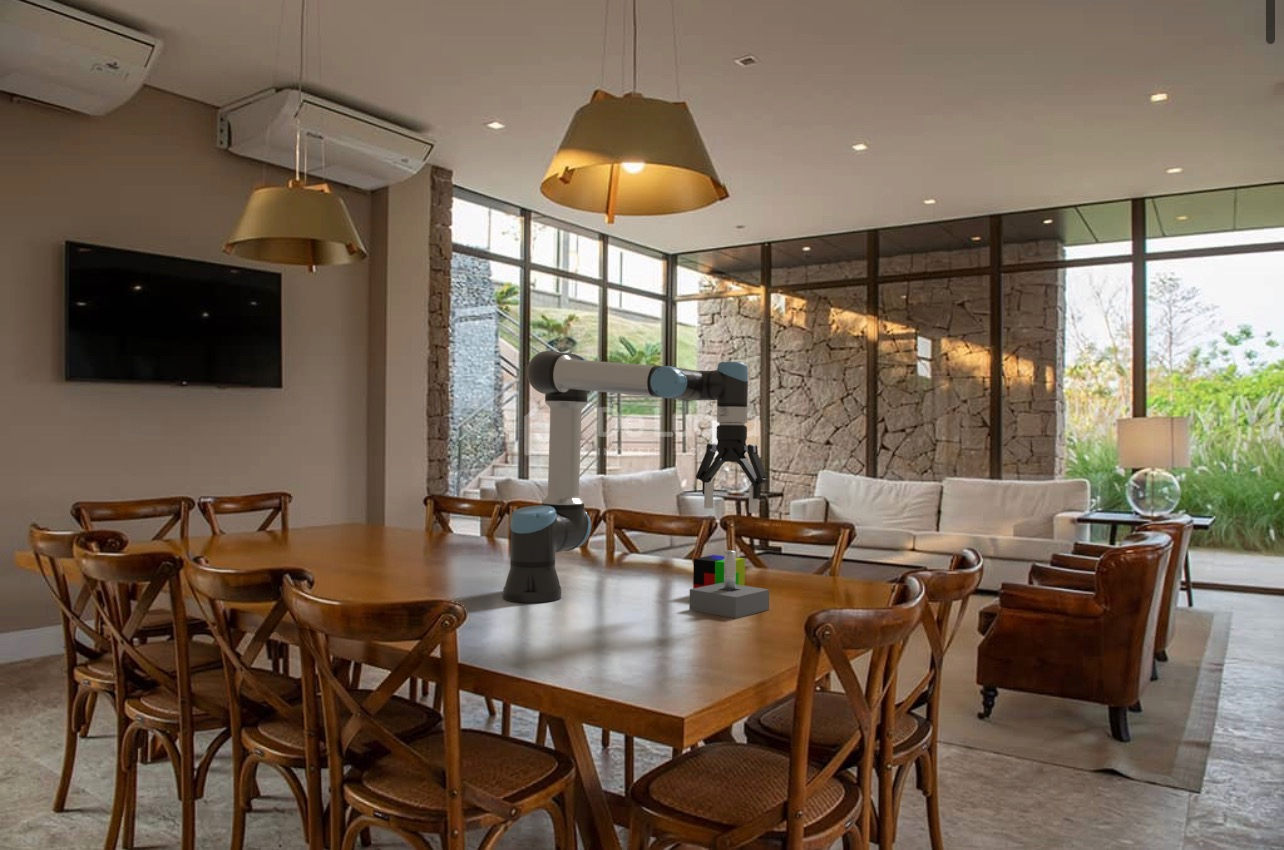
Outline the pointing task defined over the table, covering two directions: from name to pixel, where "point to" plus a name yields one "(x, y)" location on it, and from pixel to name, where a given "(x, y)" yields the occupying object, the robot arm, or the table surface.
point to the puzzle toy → (715, 571)
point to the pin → (729, 570)
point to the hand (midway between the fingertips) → (730, 510)
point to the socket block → (729, 600)
